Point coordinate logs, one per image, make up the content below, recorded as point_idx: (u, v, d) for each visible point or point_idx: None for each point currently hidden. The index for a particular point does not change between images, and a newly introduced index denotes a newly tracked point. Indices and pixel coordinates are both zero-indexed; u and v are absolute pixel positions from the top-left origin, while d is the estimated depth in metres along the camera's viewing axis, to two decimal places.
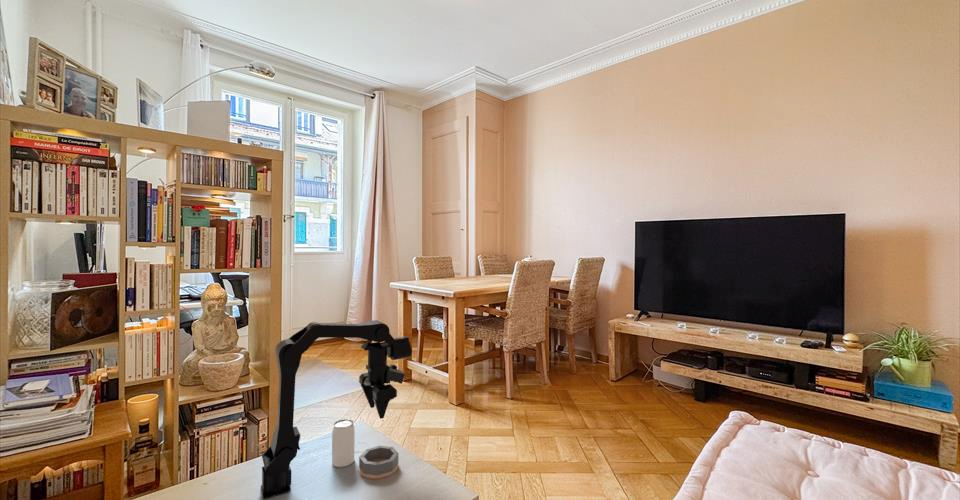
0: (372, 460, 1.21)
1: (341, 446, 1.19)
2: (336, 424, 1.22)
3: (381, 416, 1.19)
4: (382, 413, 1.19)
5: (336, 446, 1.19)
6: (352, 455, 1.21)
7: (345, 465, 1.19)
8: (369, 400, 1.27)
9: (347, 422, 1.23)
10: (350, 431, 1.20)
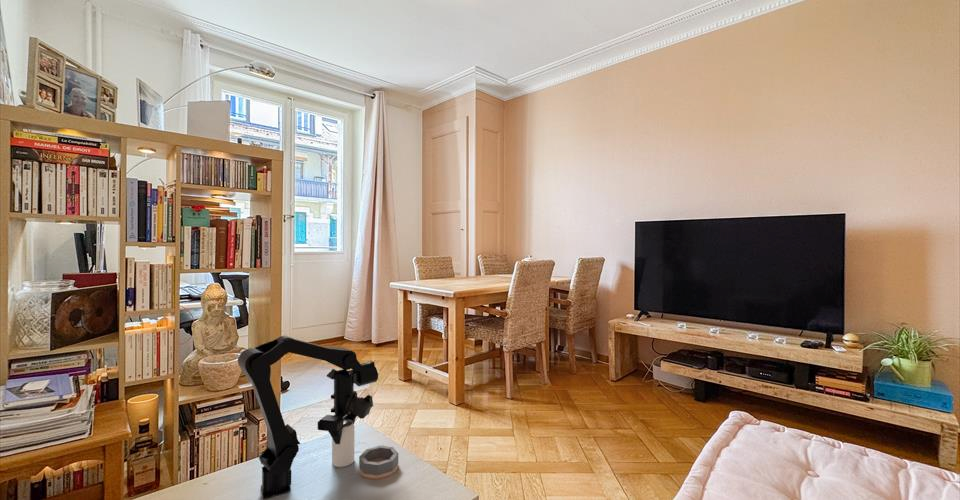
0: (372, 460, 1.21)
1: (341, 446, 1.19)
2: None
3: (336, 443, 1.19)
4: (337, 441, 1.19)
5: (336, 446, 1.19)
6: (352, 455, 1.21)
7: (345, 465, 1.19)
8: None
9: (347, 422, 1.23)
10: (350, 431, 1.20)
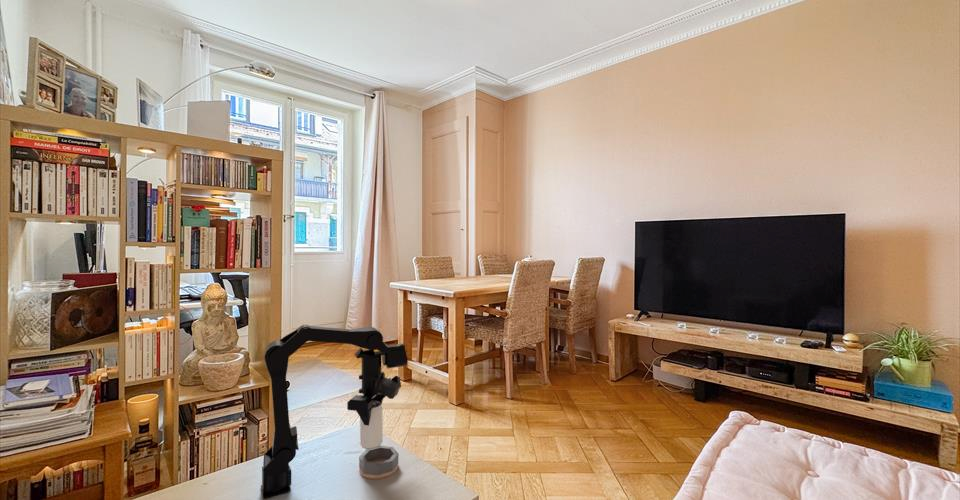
0: (372, 460, 1.21)
1: (370, 427, 1.17)
2: None
3: (365, 424, 1.17)
4: (366, 422, 1.16)
5: (364, 427, 1.17)
6: (381, 436, 1.19)
7: (374, 446, 1.17)
8: None
9: (375, 403, 1.21)
10: (379, 411, 1.18)
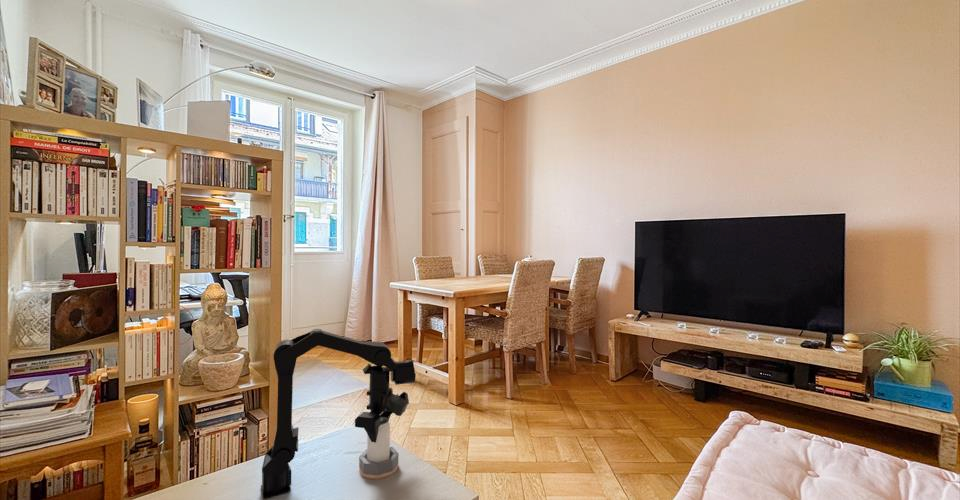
0: None
1: (377, 444, 1.16)
2: None
3: (372, 441, 1.16)
4: (373, 439, 1.15)
5: (371, 443, 1.16)
6: (388, 453, 1.18)
7: None
8: None
9: (382, 419, 1.20)
10: (386, 428, 1.17)
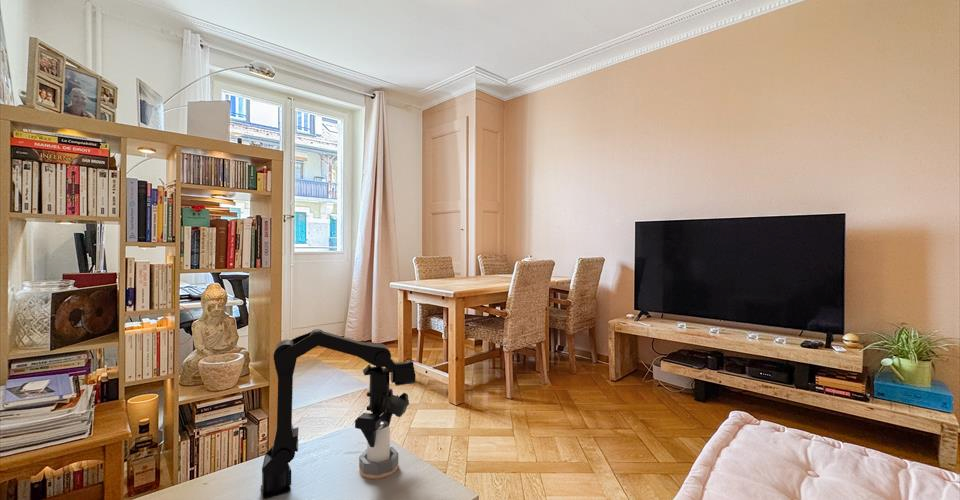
0: None
1: (378, 449, 1.16)
2: None
3: (370, 445, 1.14)
4: (371, 442, 1.14)
5: (372, 448, 1.16)
6: (388, 457, 1.18)
7: None
8: None
9: (382, 424, 1.20)
10: (386, 432, 1.17)
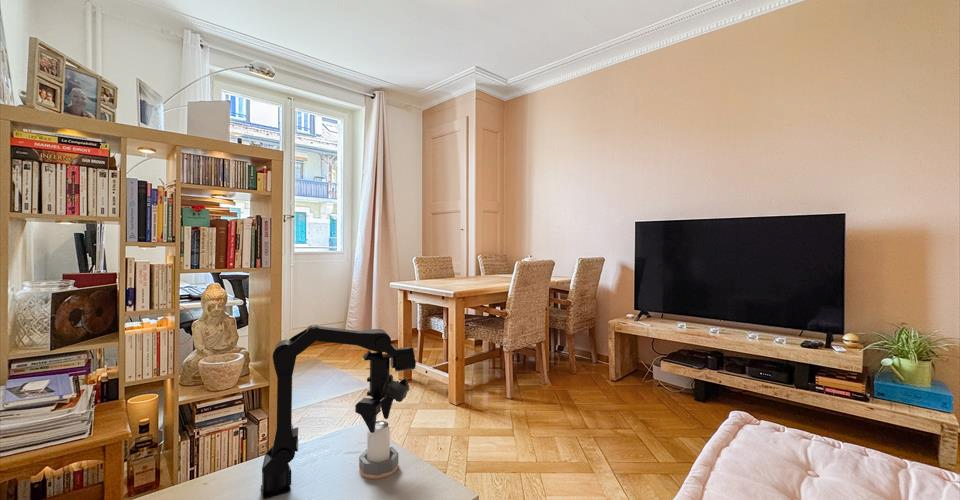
0: None
1: (378, 449, 1.16)
2: None
3: (370, 430, 1.14)
4: (371, 427, 1.14)
5: (372, 448, 1.16)
6: (388, 457, 1.18)
7: None
8: (383, 410, 1.24)
9: (382, 424, 1.20)
10: (386, 432, 1.17)
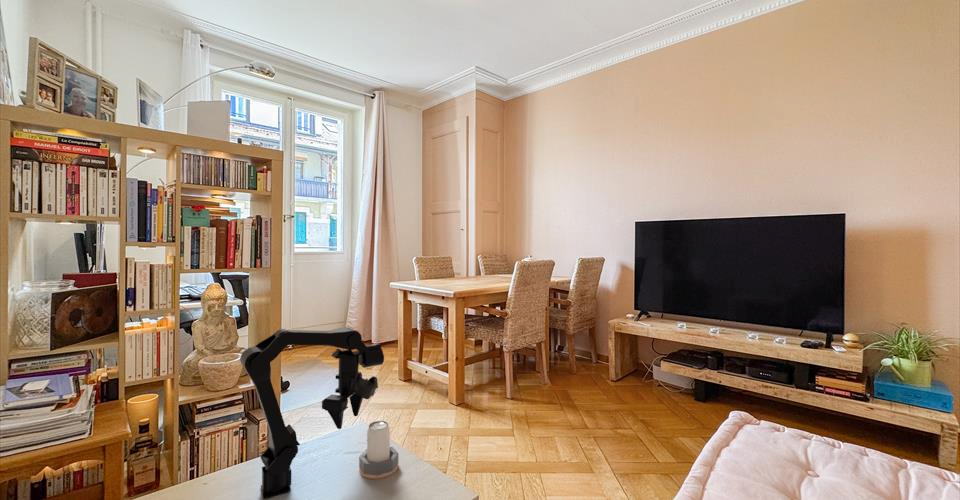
0: None
1: (378, 449, 1.16)
2: (371, 426, 1.18)
3: (337, 426, 1.16)
4: (338, 424, 1.16)
5: (372, 448, 1.16)
6: (388, 457, 1.18)
7: None
8: (352, 407, 1.25)
9: (382, 424, 1.20)
10: (386, 432, 1.17)
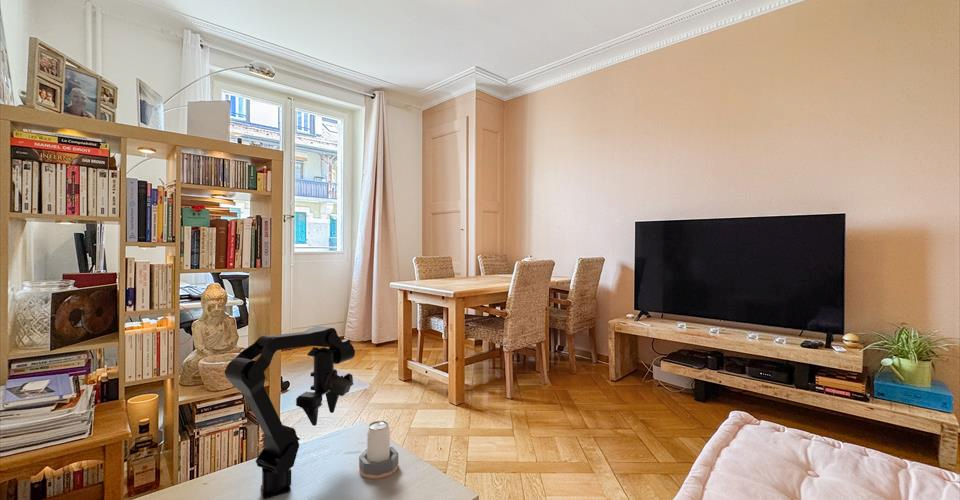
0: None
1: (378, 449, 1.16)
2: (371, 426, 1.18)
3: (312, 423, 1.18)
4: (313, 420, 1.17)
5: (372, 448, 1.16)
6: (388, 457, 1.18)
7: None
8: (329, 404, 1.27)
9: (382, 424, 1.20)
10: (386, 432, 1.17)
